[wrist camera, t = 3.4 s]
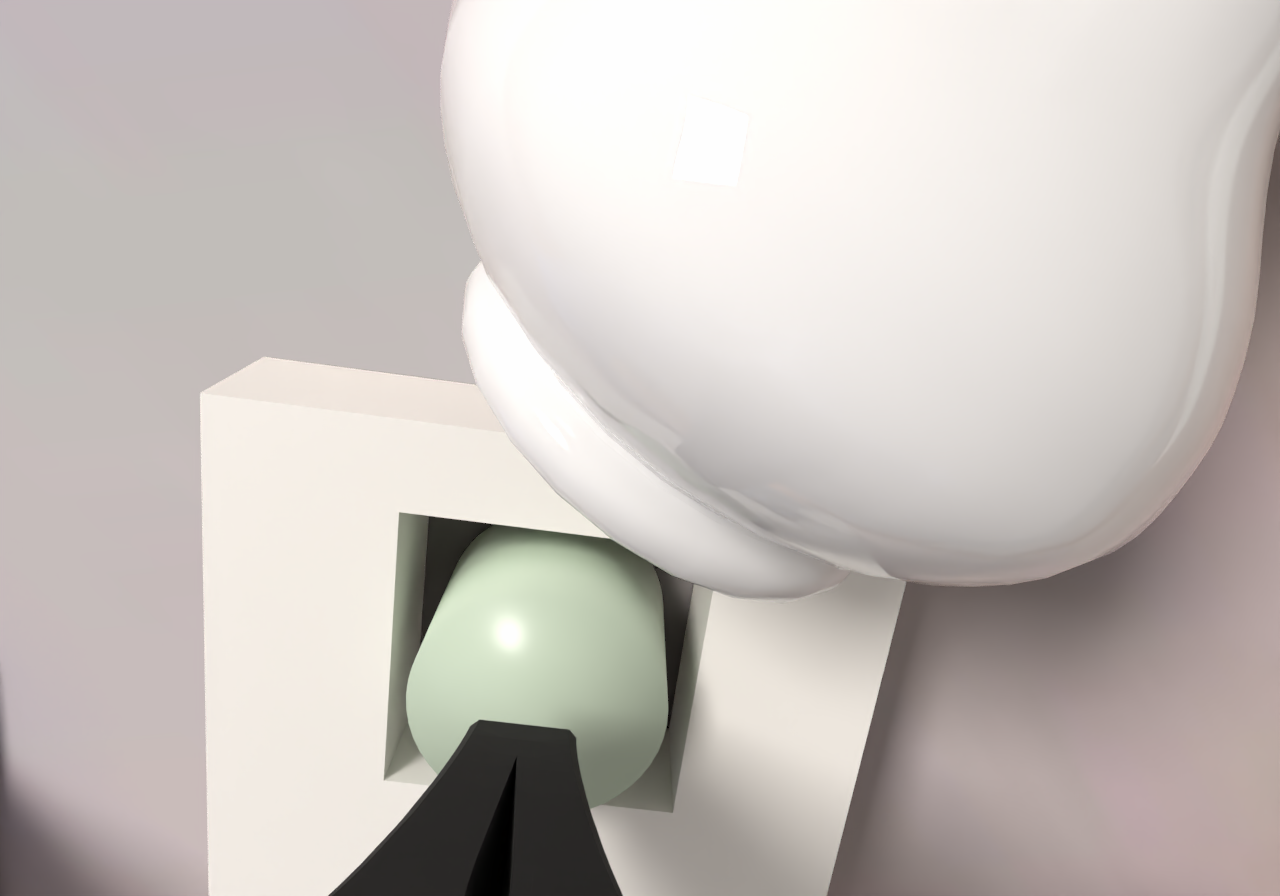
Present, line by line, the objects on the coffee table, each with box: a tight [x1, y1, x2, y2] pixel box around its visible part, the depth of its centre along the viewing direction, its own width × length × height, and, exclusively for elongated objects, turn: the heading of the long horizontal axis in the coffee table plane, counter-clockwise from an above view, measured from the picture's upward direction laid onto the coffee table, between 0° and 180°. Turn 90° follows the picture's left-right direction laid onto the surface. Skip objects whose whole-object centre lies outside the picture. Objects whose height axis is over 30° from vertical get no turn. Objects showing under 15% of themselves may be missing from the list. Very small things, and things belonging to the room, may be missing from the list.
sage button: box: [406, 524, 668, 809], centre depth 15 cm, size 4×4×3 cm
